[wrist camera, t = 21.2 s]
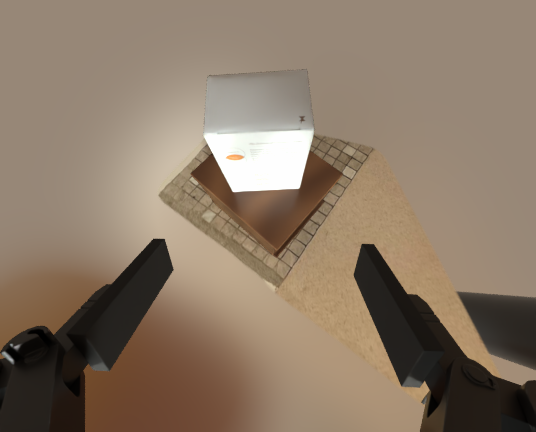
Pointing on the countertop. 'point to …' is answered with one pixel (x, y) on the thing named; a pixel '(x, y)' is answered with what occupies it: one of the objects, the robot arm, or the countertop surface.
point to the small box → (260, 128)
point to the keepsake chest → (270, 201)
